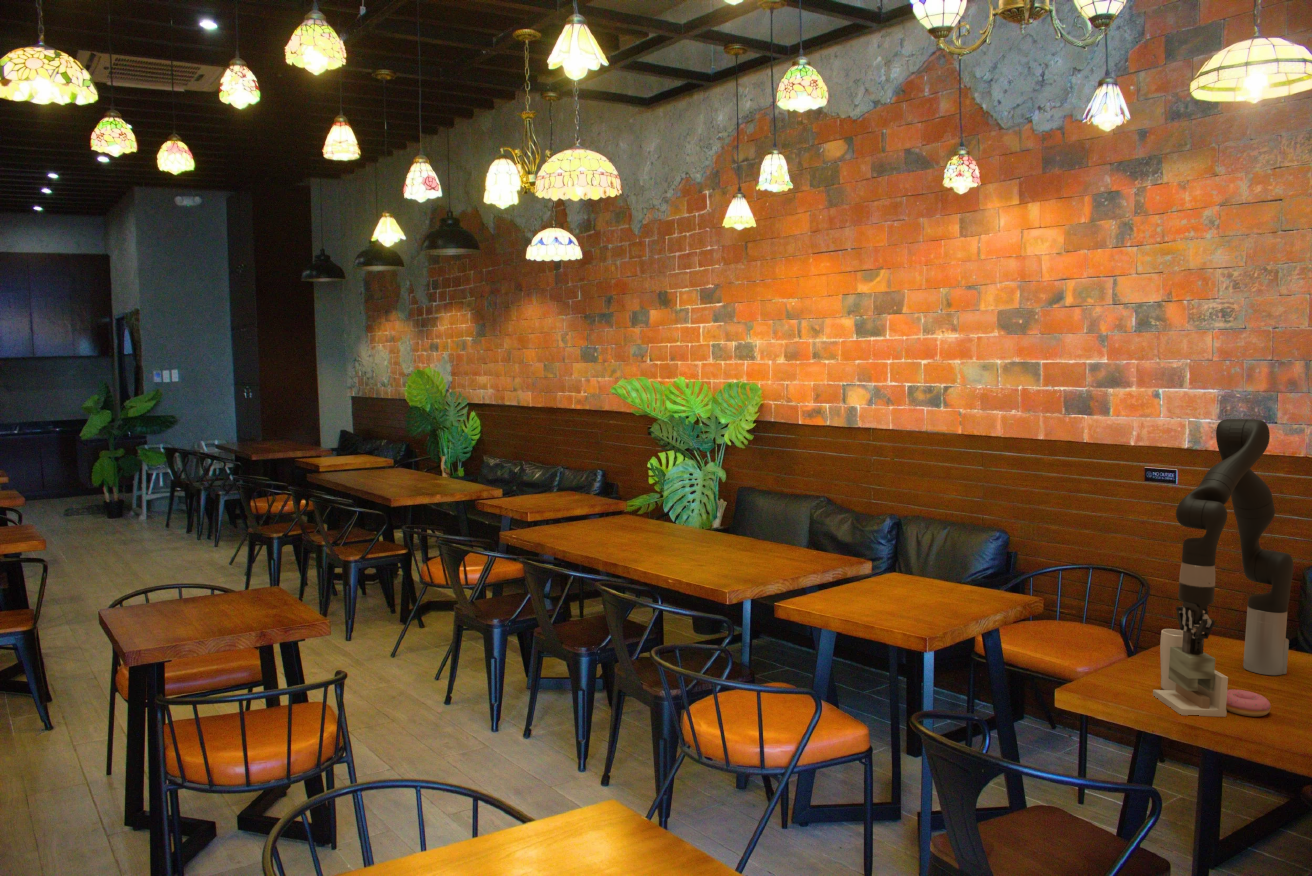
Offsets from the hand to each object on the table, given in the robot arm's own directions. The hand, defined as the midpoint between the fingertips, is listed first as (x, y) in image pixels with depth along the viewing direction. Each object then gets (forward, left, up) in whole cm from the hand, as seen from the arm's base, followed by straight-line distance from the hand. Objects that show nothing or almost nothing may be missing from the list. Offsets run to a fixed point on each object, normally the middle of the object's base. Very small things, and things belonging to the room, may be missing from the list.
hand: (1192, 652), depth 232 cm
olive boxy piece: (0, 0, -8) cm, 8 cm away
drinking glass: (-2, -12, -14) cm, 18 cm away
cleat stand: (-1, 0, -13) cm, 13 cm away
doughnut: (-12, +2, -14) cm, 18 cm away
